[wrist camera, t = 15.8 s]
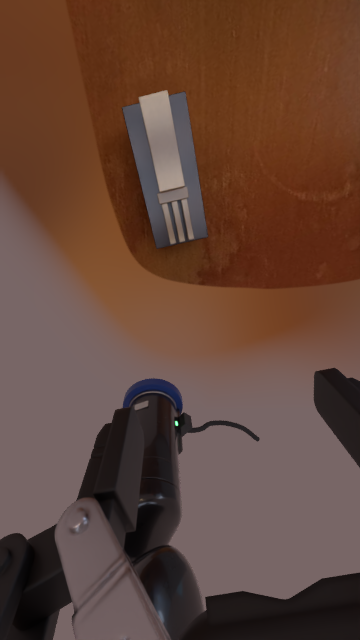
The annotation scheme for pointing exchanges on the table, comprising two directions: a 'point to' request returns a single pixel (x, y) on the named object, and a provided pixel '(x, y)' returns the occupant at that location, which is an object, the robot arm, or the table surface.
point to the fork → (166, 161)
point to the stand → (149, 176)
